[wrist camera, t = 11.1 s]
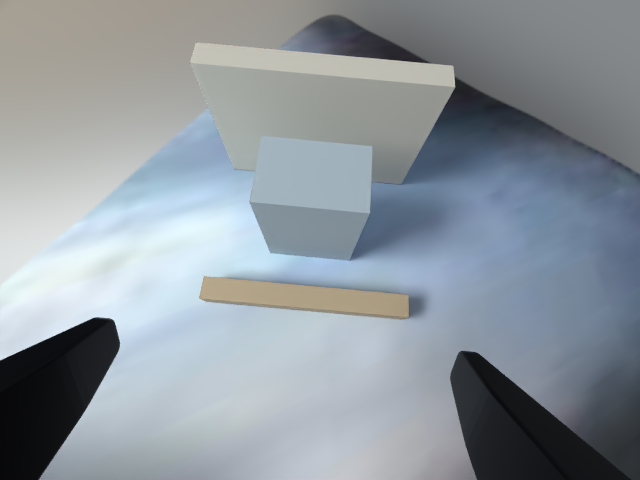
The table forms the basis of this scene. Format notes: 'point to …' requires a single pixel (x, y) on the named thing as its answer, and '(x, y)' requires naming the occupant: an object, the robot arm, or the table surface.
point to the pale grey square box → (312, 196)
